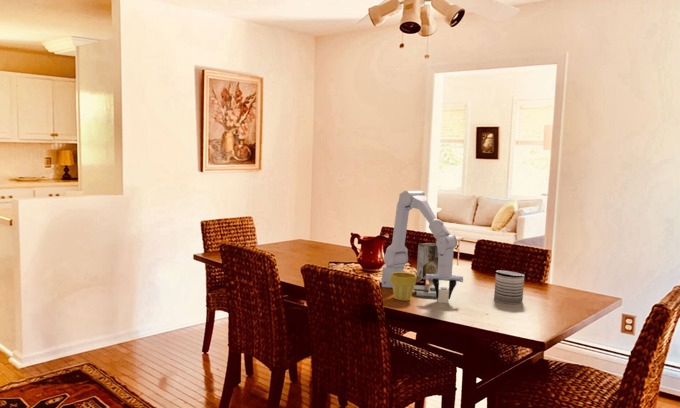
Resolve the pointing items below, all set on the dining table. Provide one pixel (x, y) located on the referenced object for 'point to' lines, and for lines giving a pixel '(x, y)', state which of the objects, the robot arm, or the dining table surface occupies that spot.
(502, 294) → the can
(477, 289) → the dining table surface
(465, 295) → the dining table surface
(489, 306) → the dining table surface
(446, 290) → the plug
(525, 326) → the dining table surface
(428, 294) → the socket plate
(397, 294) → the plant pot
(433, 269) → the coffee box
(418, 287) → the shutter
